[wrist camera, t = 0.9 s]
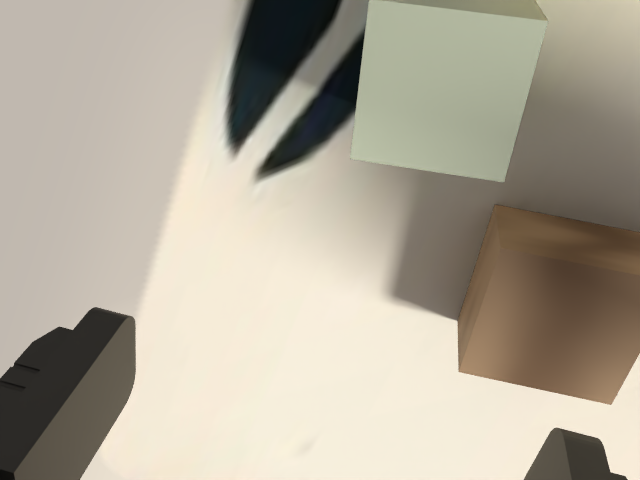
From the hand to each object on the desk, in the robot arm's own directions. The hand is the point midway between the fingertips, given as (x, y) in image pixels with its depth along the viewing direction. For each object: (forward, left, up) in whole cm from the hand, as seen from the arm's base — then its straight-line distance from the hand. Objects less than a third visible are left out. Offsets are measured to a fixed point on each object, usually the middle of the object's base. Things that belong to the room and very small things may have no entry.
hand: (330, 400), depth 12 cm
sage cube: (-1, -2, -18) cm, 18 cm away
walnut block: (-8, +8, -18) cm, 21 cm away
